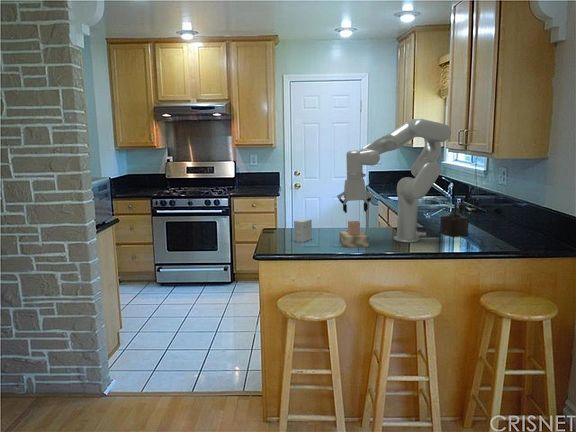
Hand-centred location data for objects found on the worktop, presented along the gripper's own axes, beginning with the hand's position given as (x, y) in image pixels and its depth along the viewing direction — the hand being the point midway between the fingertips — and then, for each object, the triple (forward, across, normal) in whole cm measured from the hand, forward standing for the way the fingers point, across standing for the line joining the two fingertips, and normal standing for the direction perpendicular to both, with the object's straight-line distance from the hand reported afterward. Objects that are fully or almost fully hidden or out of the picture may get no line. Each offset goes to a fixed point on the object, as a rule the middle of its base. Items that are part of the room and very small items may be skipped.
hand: (355, 211), depth 224 cm
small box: (+16, +25, -11) cm, 31 cm away
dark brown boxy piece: (+18, -56, -12) cm, 60 cm away
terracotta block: (+11, +1, 0) cm, 11 cm away
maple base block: (+16, +1, 0) cm, 16 cm away
